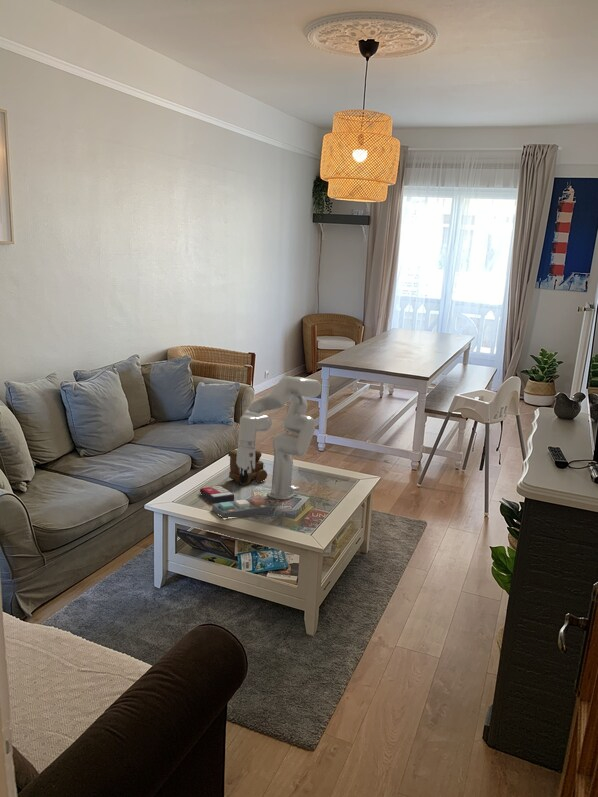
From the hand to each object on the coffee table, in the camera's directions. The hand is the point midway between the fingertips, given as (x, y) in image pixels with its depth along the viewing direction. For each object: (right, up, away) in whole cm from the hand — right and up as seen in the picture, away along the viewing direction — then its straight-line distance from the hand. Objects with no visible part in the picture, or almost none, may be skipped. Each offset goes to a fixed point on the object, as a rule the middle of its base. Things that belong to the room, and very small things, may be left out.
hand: (243, 482), depth 278 cm
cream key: (-1, -11, +2) cm, 12 cm away
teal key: (-7, -12, -2) cm, 14 cm away
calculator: (-14, -10, +17) cm, 25 cm away
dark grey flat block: (-1, -13, +3) cm, 14 cm away
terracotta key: (+6, -11, +7) cm, 14 cm away
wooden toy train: (-2, -6, +45) cm, 45 cm away
